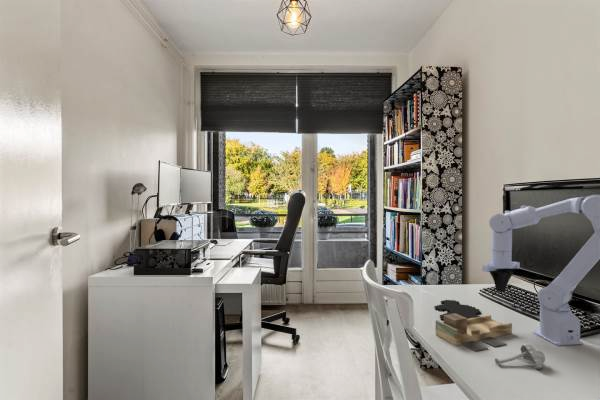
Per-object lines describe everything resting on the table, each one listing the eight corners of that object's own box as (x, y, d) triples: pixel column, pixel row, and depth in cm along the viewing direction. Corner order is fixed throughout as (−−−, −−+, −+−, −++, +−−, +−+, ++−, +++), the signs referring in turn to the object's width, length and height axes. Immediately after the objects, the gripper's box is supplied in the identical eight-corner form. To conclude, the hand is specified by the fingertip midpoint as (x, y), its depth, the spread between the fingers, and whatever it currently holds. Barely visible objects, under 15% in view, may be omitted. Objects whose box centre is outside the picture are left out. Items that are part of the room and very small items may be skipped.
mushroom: (489, 345, 90) (533, 337, 91) (489, 360, 91) (533, 352, 92) (506, 365, 83) (554, 356, 84) (506, 380, 85) (553, 372, 85)
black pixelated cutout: (497, 335, 106) (476, 304, 134) (497, 332, 106) (476, 301, 134) (440, 330, 110) (432, 301, 139) (440, 327, 110) (432, 298, 139)
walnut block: (455, 327, 107) (455, 313, 107) (466, 333, 103) (466, 318, 102) (443, 329, 105) (443, 315, 105) (454, 335, 101) (454, 320, 101)
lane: (489, 323, 114) (489, 310, 114) (527, 339, 102) (528, 325, 102) (435, 334, 106) (435, 320, 106) (470, 353, 94) (470, 337, 94)
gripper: (506, 247, 120) (505, 285, 121) (474, 249, 115) (473, 290, 116) (526, 250, 114) (525, 291, 114) (493, 253, 109) (492, 296, 109)
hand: (500, 291), depth 115 cm, fingers closed
